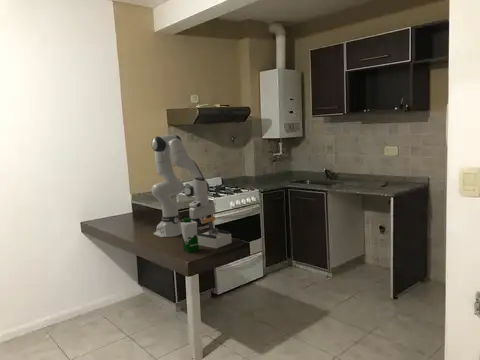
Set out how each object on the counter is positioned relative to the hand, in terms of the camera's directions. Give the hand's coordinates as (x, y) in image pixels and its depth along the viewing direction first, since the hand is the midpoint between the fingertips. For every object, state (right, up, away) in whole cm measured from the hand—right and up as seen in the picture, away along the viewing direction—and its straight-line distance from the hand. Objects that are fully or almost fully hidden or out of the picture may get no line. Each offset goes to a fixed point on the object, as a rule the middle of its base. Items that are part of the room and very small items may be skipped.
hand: (203, 223), depth 263 cm
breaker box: (+7, -13, -4) cm, 15 cm away
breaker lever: (+7, -6, -5) cm, 10 cm away
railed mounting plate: (+7, -7, -5) cm, 11 cm away
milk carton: (-6, -16, -15) cm, 23 cm away
